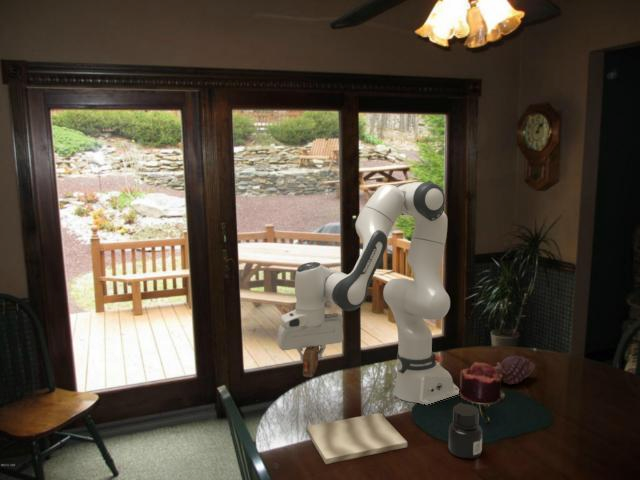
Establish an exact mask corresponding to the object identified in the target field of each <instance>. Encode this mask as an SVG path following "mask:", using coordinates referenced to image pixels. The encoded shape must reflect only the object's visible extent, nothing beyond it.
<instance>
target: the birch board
mask: <svg viewBox="0 0 640 480" xmlns="http://www.w3.org/2000/svg"><path fill="white" fill-rule="evenodd" d="M305 430H306V433H307V435H308V436H309V437H308V438H309V439H310V440H311V442H312V443H313V445H314V447H315V449H316V450H317V452H318V453H319V455H320V457H321V458H322V460H323V462H324V464H325V465H330V464H333V463H340V462H343V461H347V460H353V459H357V458H362V457H365V456H366V457H367V456H372V455H375V454H381V453H385V452H390V451H391V452H392V451H395V450H396V451H397V450H399V449H405V448H408V441H407V440H406V439H405V438H404V437H403V436H402V435H401V434H400V432H398V430H396V428H395V427H394V426H393V425H392V424H391V422H389V421H388V420H387V419H386V418H385V417H384V415H383V414H382V413H380V412H378V413H373V414H371V413H370V414H366V415H362V416H355V417H351V418H345V419H344V418H343V419H341V420H340V419H339V420H333V421H329V422H323V423H318V424H312V425H307V426H306V427H305Z"/></svg>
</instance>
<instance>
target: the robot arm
mask: <svg viewBox="0 0 640 480" xmlns="http://www.w3.org/2000/svg"><path fill="white" fill-rule="evenodd" d="M445 205H446V196H445V192H444V190H443V188H442V187H441V186H440V185H438V184H437V183H434V182H431V181H430V182H429V181H426V182H423V181H413V182H408V183H401V184H398V185H396V186H395V185H394V184H393V185H392V184H387V183H386V184H383V185H381V186H379V188H378V189H377V190H375V192H374V193H373V194H372V195H371V196H370V198H369V199H368V200H367V201H366V203H365V205H364V206H363V208H362V209H361V211H360V212H359V214H358V216H357V218H356V221H355V224H354V226H355V230H356V231H355V232H356V234H357V236H358V237H359V238H360V239H361V241H362V244H363V245H362V251H361V253H360V255H359V257H358V259H357V260H356V263H355V265H354V267H353V269H352V270H351V272H350V273H348V274H347V273H344V272H342V271H339V270H336V269H331V268H330V267H329V268H328V267H327V266H324V265H323V264H321V263H320V262H316V261H313V262H311V261H310V262H306V263H302V264H301V265H299V266H298V267H297V269H296V271H295V277H294V294H295V295H294V296H295V298H296V302H295V306H294V307H295V309H293V310H290V311H289V312H287V313H284V314H282V315H281V316H280V322H281V324H280V326H279V327H278V329H277V331H278V332H277V345H278V348H279V349H281V351H289V350H296V351H297V352H298V353H299V355H300V357H299V358H300V361H301V362H303V355H304V353H303V351H304V350H303V349H306V347H313V346H319V352H316V358H317V359H318V360H322V359H323V354H324V352H325V350H326V347H327V346H326V345H332V344H333V345H335V344H341V343H342V342H343V341H344V332H343V330H344V329H343V326H342V325H343V316H342V315H341V314H339V313H338V312H334V313H333V312H332V313H326V311H325V304H326V303H328V302H330V303H332V304H334V305H335V306H337V307H338V308H340V309H341V310H344V311H345V312H352V311H355V310H358V309H359V308H360V307H361V306H362V305H363V304H364V303H365V301H366V299H367V296H368V292H369V288H370V284H371V282H372V279H373V277H374V276H375V273H376V271H377V269H378V267H379V265H380V262H381V260H382V258H383V256H384V254H385V252H386V249H387V246H388V238H389V235H390V232H391V230H392V228H394V225H395V223H396V222H397V220H398V218H399V217H400V216H409V217H413V221H414V228H413V231H412V236H411V239H410V244H409V248H408V252H407V258H406V259H407V264H408V265H409V266H410V268H411V270H412V273H413V279H408V278H404V277H403V278H399V277H398V278H392V279H390V280H389V281H387V282H386V283H385V285H384V287H383V292H382V293H383V295H382V296H383V300H384V301H385V303H386V304H387V306H388V307H389V308H390V310H391V313H392V315H393V318H394V321H395V325H396V328H397V340H398V342H397V344H398V347H397V348H398V351H397V353H396V368H397V369H396V370H397V372H396V379H395V384H394V388H393V392H392V393H393V394H394V396H395V397H396V398H398V399H399V400H402V401H405V402H409V403H419V404H421V405H424V404H425V405H426V406H429V405H428V404H430V405H432V404H431V403H433V404H435V403H434V402H437V401H440V400H443V399H446V398H449V397H452V396H455V395H458V394H459V390H460V389H459V387H458V386H457V385H456V384H455V383H454V381H453V377H452V375H451V373H450V372H449V371H448V370H446V369H445V368H444V367H443V366H441V365H440V364H438V363H441V362H442V361H443V357H442V356H440V355H438V354H436V353H434V352H433V351H432V347H433V346H432V345H433V334H432V331H431V329H430V327H429V326H428V325H427V323H426V322H425V320H433V321H434V320H435V321H436V320H438V321H439V320H442V319H443V318H444V317H446V315H447V314H448V312H449V310H450V308H451V298H450V296H449V294H448V292H447V291H446V289H445V287H444V285H443V281H442V274H441V273H442V272H441V267H442V266H441V265H442V260H443V256H444V250H445V245H446V242H447V241H446V240H447V236H448V235H447V233H448V222H449V221H448V216H447V214H446V213H445ZM424 319H425V320H424ZM458 396H459V395H458ZM455 397H456V396H455ZM452 398H453V397H452ZM449 399H450V398H449ZM446 400H447V399H446ZM443 401H444V400H443ZM440 402H441V401H440ZM437 403H438V402H437ZM425 405H424V406H425Z"/></svg>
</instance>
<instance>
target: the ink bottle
mask: <svg viewBox="0 0 640 480" xmlns="http://www.w3.org/2000/svg"><path fill="white" fill-rule="evenodd" d="M479 421H480V410H479V408H478V407H476V406H474V405H472V404H466V403H460V404H456V405H454V406H453V408H452V422H451V423H450V424H449V426H448V445H447V446H448V451H449V452H450V453H451V454H453V455H454V456H455V457H458V458H460V459H461V458H462V459H476V458H478V457H480V456H481V454H482V453H483V452H482V451H483V429H482V427H481V426H480V425H479V423H480V422H479Z"/></svg>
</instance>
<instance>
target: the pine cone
mask: <svg viewBox="0 0 640 480" xmlns="http://www.w3.org/2000/svg"><path fill="white" fill-rule="evenodd" d="M492 367H493V368H494V369H495V370H496V371H497V372H498V374H499V376H500V378H501V380H500V382H502V381H503V383H504V384H508V385H512V384H513V385H514V384H517V385H518V383H521V382H522V381H523V380H524V379H527V378H528V377H530V376H531V374H532V373H533V371H534V370H535V368H536V364H535V363H533V362H532V361H530V359H529V358H526V357H525V356H521V355H508V356H507V357H504V359H502V361H501V362H499V361H497V362H496V365H492ZM492 367H491V368H492ZM500 378H499V379H500Z"/></svg>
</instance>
